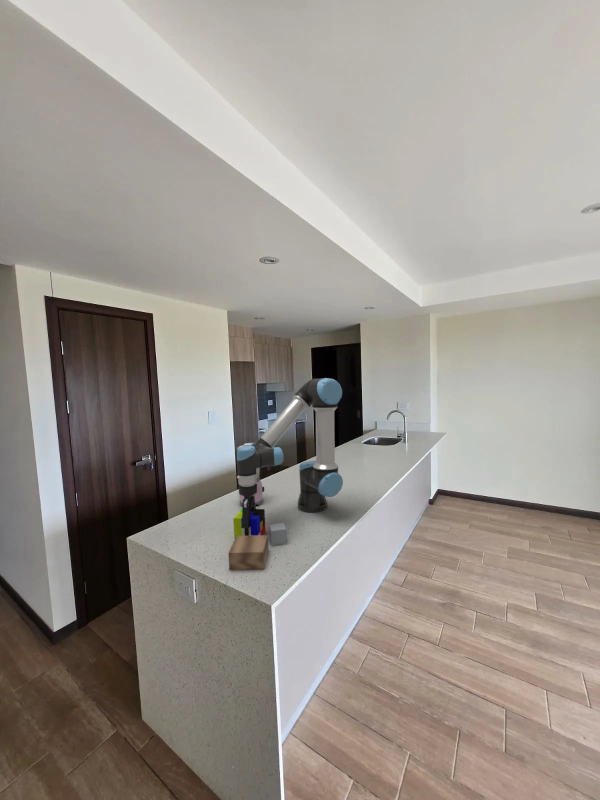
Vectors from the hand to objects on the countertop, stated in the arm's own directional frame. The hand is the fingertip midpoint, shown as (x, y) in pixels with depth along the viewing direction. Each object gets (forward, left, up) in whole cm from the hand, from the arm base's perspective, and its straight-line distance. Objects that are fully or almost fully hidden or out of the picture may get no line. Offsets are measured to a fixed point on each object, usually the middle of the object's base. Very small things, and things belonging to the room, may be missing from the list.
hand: (250, 535), depth 133 cm
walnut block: (-3, +17, -1) cm, 17 cm away
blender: (+5, -37, -1) cm, 37 cm away
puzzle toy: (0, 0, -1) cm, 1 cm away
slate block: (-12, +4, -1) cm, 13 cm away
